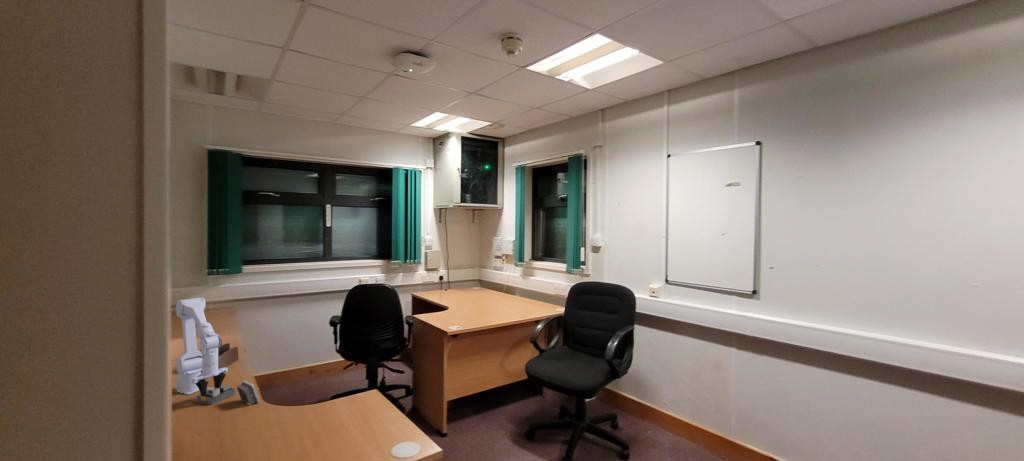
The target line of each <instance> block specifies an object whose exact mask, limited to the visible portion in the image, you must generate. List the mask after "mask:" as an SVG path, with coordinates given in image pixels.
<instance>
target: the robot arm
mask: <svg viewBox="0 0 1024 461" xmlns="http://www.w3.org/2000/svg"><path fill="white" fill-rule="evenodd" d="M205 308H206V299H205V298H204V297H202V296H200V297H195V298H194V297H193V298H186V299H185V298H184V299H179V300H177V302H176V305H175V309H176V310H175V311H176V317H177V318H181V319H180V320H181V326H182V340H183V353H181V354H180V355H179V356H178V357H177V358H176V371H177V373H178V374H177V375H176V390H178V391H179V392H180V393H179V394H182V393H184V395H191V394H194V393H196V392H199V394H201V396H204V397H205V396H206V394H207V388H208V385H209V381H208V380H207V379H209V378H212V379H213V384H214V386H213V387H217V388H220V387H221V385H223V384H222V383H223V381H224V380H225V378H226V376H227V375H226V374H227V373H228V371H229V367H228V366H227V367H224V368H220V369H218V347H220V345H221V339H222V338H221V337H220V334H218V333H217V332H216V333H215V331H214V329H213V326H212V324H211V322H207V319H206V316H205V315H206V314H205ZM197 336H198V338H199V350H198V344H197ZM200 349H201V351H200ZM201 371H202V372H201Z"/></svg>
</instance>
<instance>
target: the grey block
mask: <svg viewBox="0 0 1024 461" xmlns="http://www.w3.org/2000/svg"><path fill="white" fill-rule="evenodd" d="M219 394H220V388H217V387H214V386H207V394H206V396H207V397H214V396H216V395H219Z"/></svg>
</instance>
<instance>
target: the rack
mask: <svg viewBox="0 0 1024 461" xmlns="http://www.w3.org/2000/svg"><path fill="white" fill-rule="evenodd" d="M235 395H236V389H235V388H234V387H231V386H230V385H227V384H221V387H220V394H219V395H216V396H214V397H207V396H205V397H204V396H201V393H199V394H197V395H196V403H200V404H205V405H209V406H211V405H215V404H217V403H219V402H222V401H224V400H225V399H226V400H227V399H228V398H230V397H233V396H235Z"/></svg>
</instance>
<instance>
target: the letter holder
mask: <svg viewBox="0 0 1024 461" xmlns="http://www.w3.org/2000/svg"><path fill="white" fill-rule="evenodd" d="M220 339H221V345H220V347H218V369H220V368H224V367H227V368H228V367H229V366H231V365H233V363H235V362H237V361H238V360H239V347H238V346H234V347H231V348H230V346H231V345H230V344H231V343H230V342H226V343H224V344H222V342H223V341H222V338H220ZM199 351H201V349H200V348H199ZM201 373H202V371H201Z"/></svg>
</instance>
